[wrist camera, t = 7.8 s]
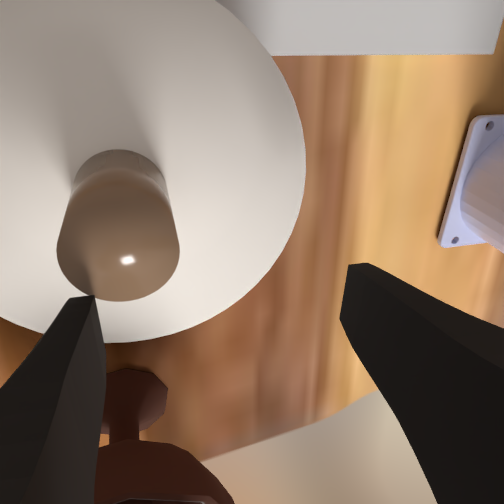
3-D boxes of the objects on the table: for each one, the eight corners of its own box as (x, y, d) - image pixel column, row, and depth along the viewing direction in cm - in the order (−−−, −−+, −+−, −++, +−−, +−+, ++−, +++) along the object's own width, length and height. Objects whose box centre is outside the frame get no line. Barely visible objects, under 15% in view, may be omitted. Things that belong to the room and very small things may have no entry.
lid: (327, -10, 13) (414, -13, 9) (275, 317, 20) (313, 398, 16) (-184, -80, 10) (-392, -129, 6) (-47, 343, 16) (-103, 456, 12)
